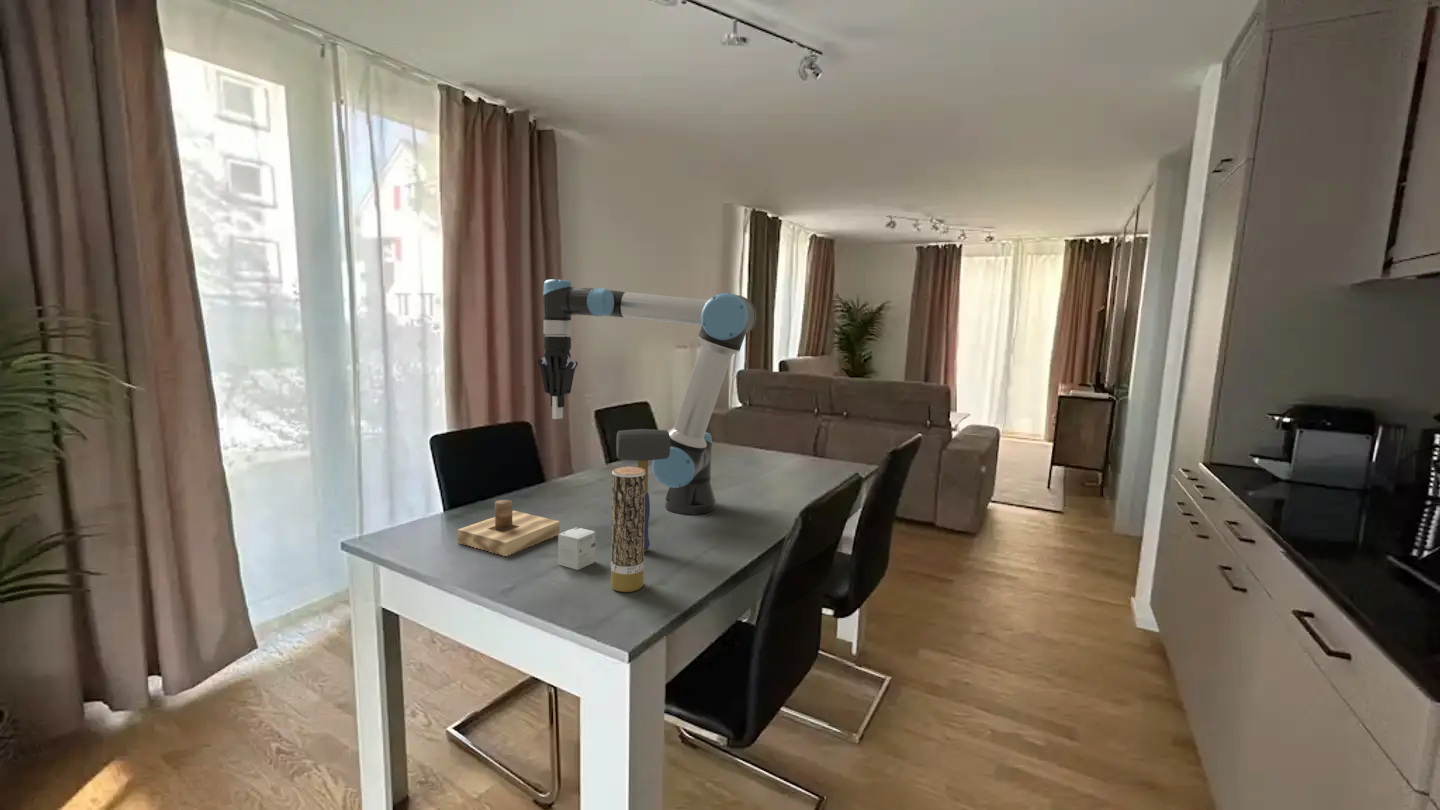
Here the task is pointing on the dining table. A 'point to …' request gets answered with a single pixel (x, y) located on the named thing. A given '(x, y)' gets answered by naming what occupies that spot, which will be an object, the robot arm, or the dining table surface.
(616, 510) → the paper tube
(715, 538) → the dining table surface
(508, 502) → the peg
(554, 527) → the board
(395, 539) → the dining table surface
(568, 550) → the skincare box
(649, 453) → the rubber mallet
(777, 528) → the dining table surface
